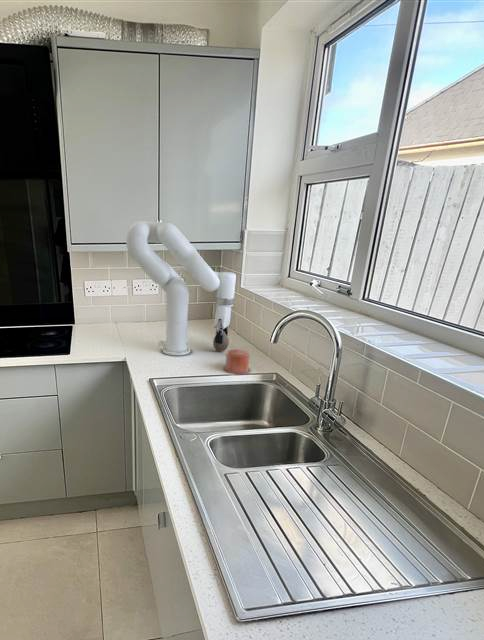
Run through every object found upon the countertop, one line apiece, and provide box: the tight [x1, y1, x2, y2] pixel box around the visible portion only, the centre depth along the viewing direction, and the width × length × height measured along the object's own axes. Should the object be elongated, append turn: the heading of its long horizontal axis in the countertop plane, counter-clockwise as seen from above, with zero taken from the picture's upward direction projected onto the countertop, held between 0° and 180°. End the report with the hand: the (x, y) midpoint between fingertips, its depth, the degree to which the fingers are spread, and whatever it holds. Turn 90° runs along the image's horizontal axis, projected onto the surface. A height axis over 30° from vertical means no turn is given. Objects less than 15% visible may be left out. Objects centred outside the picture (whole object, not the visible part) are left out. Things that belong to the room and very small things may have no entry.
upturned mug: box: [224, 349, 250, 375], centre depth 162 cm, size 12×9×7 cm
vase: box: [212, 331, 230, 352], centre depth 182 cm, size 7×7×9 cm
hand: (221, 340), depth 182 cm, fingers closed on vase, 6 cm apart
